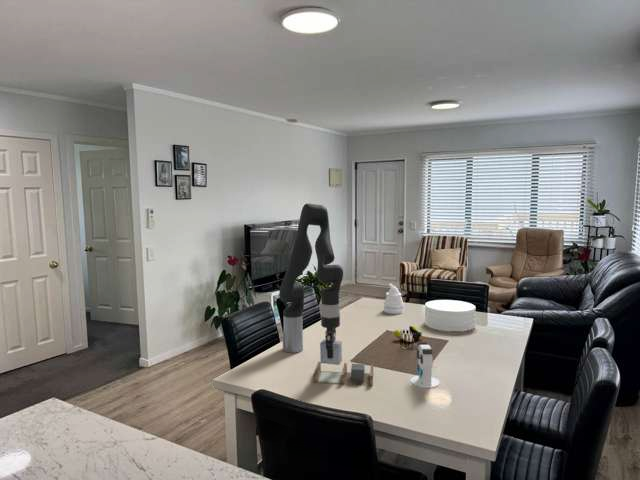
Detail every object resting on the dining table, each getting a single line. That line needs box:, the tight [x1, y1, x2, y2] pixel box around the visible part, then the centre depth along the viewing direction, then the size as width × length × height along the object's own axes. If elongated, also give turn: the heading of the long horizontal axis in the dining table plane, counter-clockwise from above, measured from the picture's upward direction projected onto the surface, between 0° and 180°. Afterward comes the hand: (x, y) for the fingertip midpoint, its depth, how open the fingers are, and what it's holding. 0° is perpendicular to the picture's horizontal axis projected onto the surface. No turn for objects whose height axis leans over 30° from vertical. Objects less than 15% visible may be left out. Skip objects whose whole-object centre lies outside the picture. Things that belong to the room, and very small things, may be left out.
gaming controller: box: [394, 325, 423, 343], centre depth 225 cm, size 15×6×10 cm
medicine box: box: [319, 339, 343, 366], centre depth 174 cm, size 8×4×9 cm, turn 71°
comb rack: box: [313, 361, 374, 387], centre depth 174 cm, size 23×12×5 cm, turn 81°
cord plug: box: [350, 363, 366, 382], centre depth 175 cm, size 5×10×5 cm, turn 172°
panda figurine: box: [409, 340, 441, 389], centre depth 172 cm, size 12×11×15 cm
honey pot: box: [383, 283, 405, 315], centre depth 281 cm, size 13×13×18 cm
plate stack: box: [424, 299, 477, 332], centre depth 251 cm, size 28×28×12 cm
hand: (330, 355), depth 174 cm, fingers closed on medicine box, 5 cm apart
